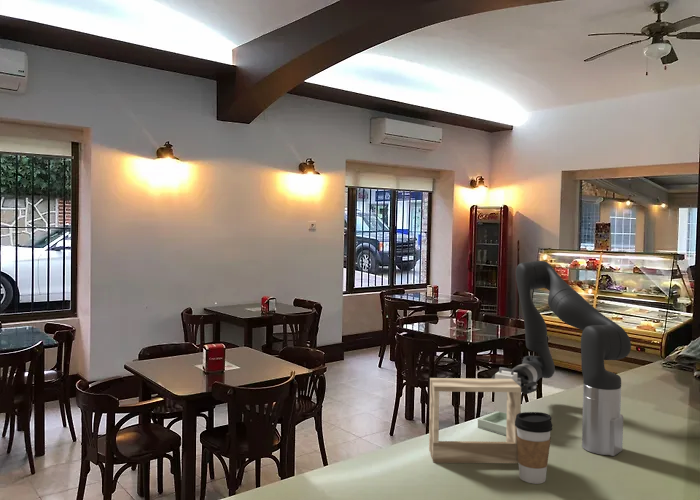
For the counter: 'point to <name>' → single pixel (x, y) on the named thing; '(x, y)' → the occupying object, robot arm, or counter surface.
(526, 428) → the coffee cup
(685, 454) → the counter surface
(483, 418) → the tray
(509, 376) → the caddy
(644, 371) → the counter surface
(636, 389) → the counter surface
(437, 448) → the frame
